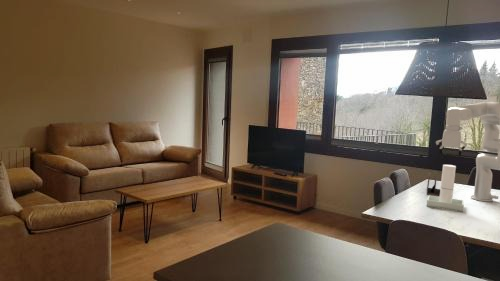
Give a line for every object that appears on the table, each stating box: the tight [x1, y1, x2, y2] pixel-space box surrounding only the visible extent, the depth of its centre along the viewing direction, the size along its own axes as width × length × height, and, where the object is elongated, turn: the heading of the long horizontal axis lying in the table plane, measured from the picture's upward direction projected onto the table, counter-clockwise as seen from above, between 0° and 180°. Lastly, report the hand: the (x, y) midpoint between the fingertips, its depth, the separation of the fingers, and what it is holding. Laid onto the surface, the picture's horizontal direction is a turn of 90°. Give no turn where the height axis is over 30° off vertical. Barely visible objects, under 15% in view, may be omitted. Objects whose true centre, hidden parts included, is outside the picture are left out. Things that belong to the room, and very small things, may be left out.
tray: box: [426, 195, 465, 213], centre depth 236 cm, size 20×14×4 cm
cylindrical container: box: [438, 164, 457, 203], centre depth 235 cm, size 7×7×25 cm
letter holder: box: [426, 171, 440, 197], centre depth 271 cm, size 10×20×14 cm, turn 154°
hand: (450, 156), depth 233 cm, fingers open, 9 cm apart
